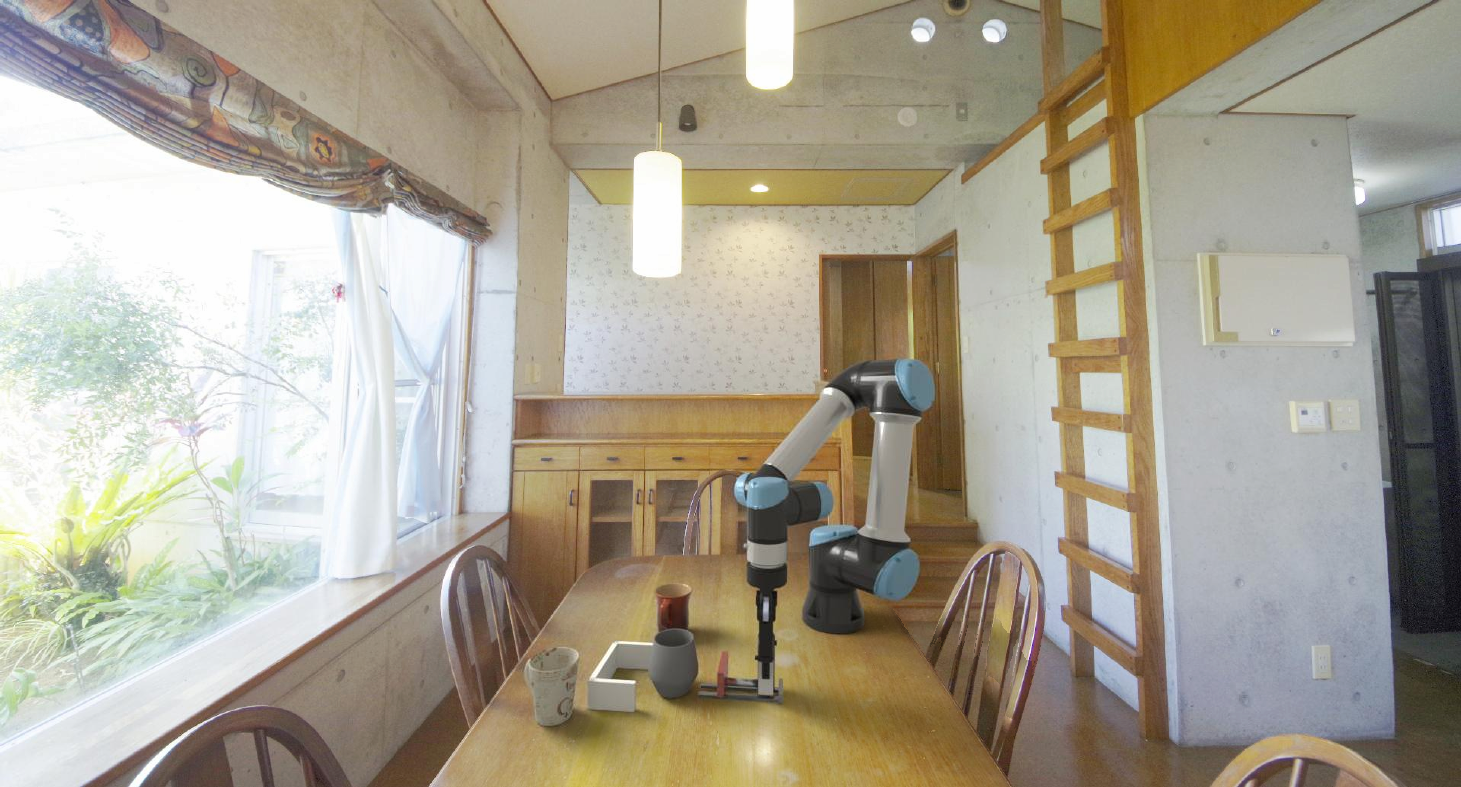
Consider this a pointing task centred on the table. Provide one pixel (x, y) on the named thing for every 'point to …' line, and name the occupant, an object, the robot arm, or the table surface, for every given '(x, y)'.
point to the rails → (742, 697)
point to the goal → (617, 692)
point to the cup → (673, 662)
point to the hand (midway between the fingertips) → (766, 687)
